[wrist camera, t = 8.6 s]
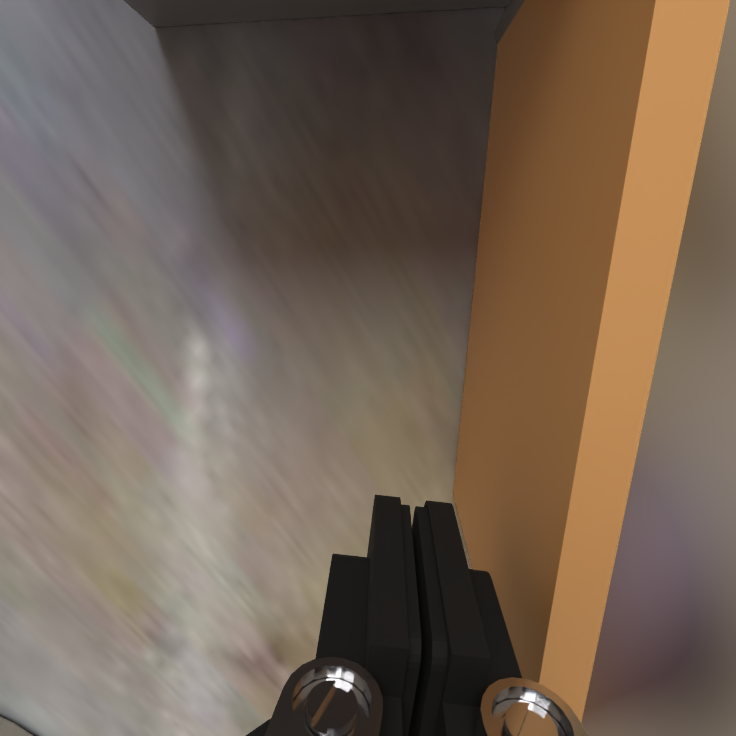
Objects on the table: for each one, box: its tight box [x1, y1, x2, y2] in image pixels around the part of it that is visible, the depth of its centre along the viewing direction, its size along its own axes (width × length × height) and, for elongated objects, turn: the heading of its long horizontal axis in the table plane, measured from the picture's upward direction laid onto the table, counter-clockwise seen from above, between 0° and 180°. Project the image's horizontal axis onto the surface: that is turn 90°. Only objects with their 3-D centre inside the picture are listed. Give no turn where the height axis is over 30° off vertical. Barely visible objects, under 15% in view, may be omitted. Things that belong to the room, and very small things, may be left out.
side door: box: [453, 0, 730, 722], centre depth 11 cm, size 2×14×9 cm, turn 178°
